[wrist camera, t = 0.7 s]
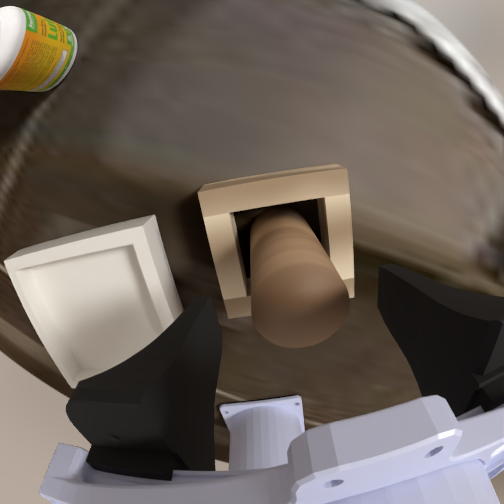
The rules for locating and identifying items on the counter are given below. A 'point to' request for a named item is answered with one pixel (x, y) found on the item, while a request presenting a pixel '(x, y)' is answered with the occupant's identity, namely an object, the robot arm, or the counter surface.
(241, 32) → the counter surface
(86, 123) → the counter surface
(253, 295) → the wooden dowel
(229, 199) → the collar
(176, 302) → the tray
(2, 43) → the supplement bottle
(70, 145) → the counter surface
